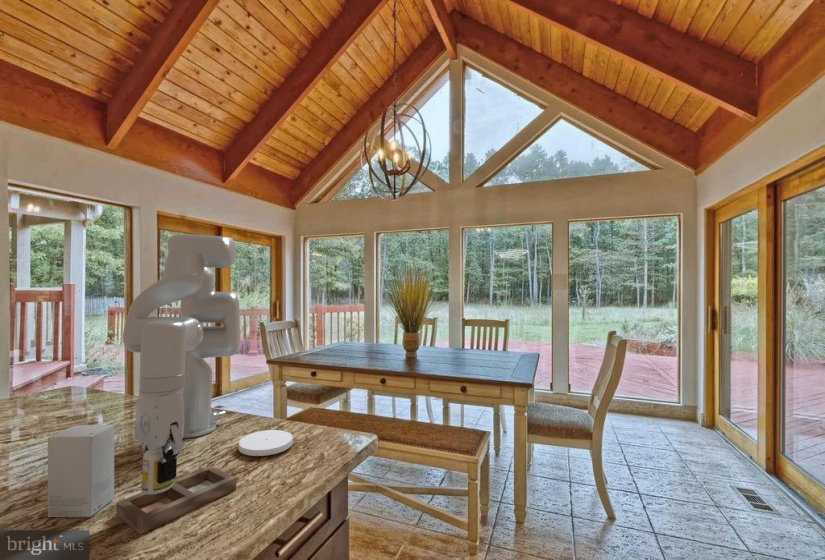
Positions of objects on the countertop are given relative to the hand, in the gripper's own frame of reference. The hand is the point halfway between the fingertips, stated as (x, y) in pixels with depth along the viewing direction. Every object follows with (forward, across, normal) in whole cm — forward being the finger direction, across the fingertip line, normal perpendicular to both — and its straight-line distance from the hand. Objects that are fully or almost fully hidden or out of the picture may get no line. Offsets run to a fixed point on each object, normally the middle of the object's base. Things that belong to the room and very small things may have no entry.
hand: (158, 475), depth 75 cm
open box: (+7, 0, +4) cm, 8 cm away
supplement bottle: (+3, 0, 0) cm, 3 cm away
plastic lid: (+7, -8, +31) cm, 33 cm away
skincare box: (+7, -13, -8) cm, 17 cm away
